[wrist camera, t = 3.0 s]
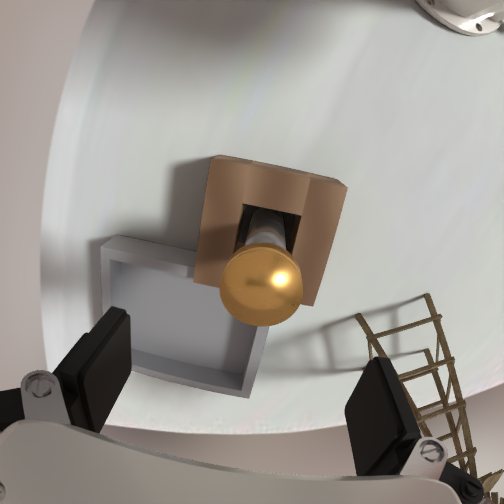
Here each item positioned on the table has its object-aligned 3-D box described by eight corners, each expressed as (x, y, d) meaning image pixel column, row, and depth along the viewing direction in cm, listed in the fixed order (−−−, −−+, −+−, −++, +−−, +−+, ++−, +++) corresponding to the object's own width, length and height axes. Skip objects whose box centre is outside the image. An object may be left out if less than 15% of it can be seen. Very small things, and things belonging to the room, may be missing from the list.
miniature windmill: (428, 353, 32) (519, 580, 4) (361, 373, 33) (410, 628, 5) (428, 288, 29) (579, 552, 1) (353, 310, 30) (433, 636, 2)
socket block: (337, 179, 26) (347, 187, 22) (308, 284, 29) (313, 306, 26) (220, 154, 26) (210, 158, 22) (203, 263, 29) (192, 282, 26)
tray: (280, 268, 29) (280, 285, 26) (251, 378, 34) (249, 398, 31) (116, 234, 29) (100, 246, 26) (118, 345, 34) (107, 362, 31)
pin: (296, 204, 27) (312, 262, 15) (285, 249, 28) (291, 332, 17) (247, 194, 27) (226, 245, 15) (239, 240, 28) (214, 317, 17)
